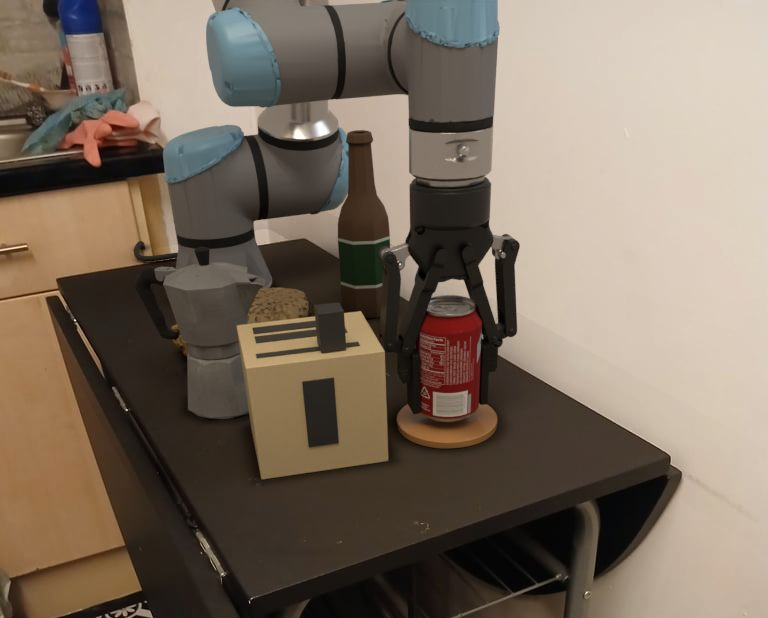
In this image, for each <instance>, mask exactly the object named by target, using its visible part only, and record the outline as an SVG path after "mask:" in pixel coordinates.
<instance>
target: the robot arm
mask: <svg viewBox="0 0 768 618" xmlns="http://www.w3.org/2000/svg"><path fill="white" fill-rule="evenodd" d="M330 1H331V0H211V2H212V5H213V8H214V10H215V12H213V13H211V15H209V17H208V18H207V19H208V20H207V22H206V27H205V42H206V44H205V45H206V54H207V61H208V68H209V71H210V73H211V78H212V79H211V80H212V83H213V84H212V85H213V88H214V89H215V93H216V94H217V96H218V98H219V99H220V101H221V102H222V103H224V104H225V105H227V106H229V107H233V108H237V107H238V108H241V107H244V108H245V107H258V108H262V109H263V108H264V109H263V111H261V113H260V114H259V115H258V117H257V134H249V135H245V133H244V131H243V130H242V128H241V127H240V125H235V124H224V125H219V126H218V125H213V126H208V127H203V128H198V129H194V130H191V131H187V132H184V133H182V134H179V135H177V136H175V137H174V138H172V139H170V140H169V141H168V142H167V143H165V146H164V147H163V151H162V159H163V168H164V181H165V183H166V185H167V190H168V195H169V200H170V208H171V213H172V219H173V226H174V230H175V236H176V242H177V247H178V248H177V252H171V253H164V254H156V255H142V254H141V253H140V250H145V249H146V244H145V242H144V241H142V240H139V241H137V242H136V243H135V246H134V248H133V256H134V257H135V259H136V260H137V261H140V262H160V261H167V260H173V259H176V262H175V263H176V264H175V269H176V270H178V269H181V268H184V267H187V266H190V265H193V264H199V262H198V260H197V257H196V254H195V251H194V250H195V249H196V248H199V247H207V248H210V250H209V263H220V262H226V263H230V264H234V265H238V266H242V267H247V268H248V273H249V274H252V275H256V276H258V278H262V279H263V280H264V282H265V286H264V287H262V288H260V289H266V288H274V283H273V277H272V275H271V272H270V270H269V268H268V266H267V263H266V261H265V259H264V256H263V254H262V252H261V250H260V247H259V245H258V243H257V240H256V234H255V224H254V223H255V222H256V221H263V220H272V219H278V218H279V219H280V218H288V217H294V216H304V215H311V216H312V215H318V214H319V213H322V212H328V211H333V210H335V209H337V208H339V207H340V206H341V205H343V204H344V202H345V200H346V198H347V196H348V144H347V143H346V139H347V133H346V131H345V130H344V129H343V128H342V127H339V125H340V124H339V119H338V118H337V117H336V116H335V114H334V113H333V112H332V111H331V110H330V109H329V100H330V101H332V100H346V99H347V100H348V99H357V98H358V99H360V98H370V97H371V98H372V97H382V96H394V95H405V96H407V98H408V99H407V100H408V101H407V102H408V103H407V104H408V172H409V174H410V175H411V176H412V177H414V178H413V179H412V181H411V182H410V183H409V187H408V188H409V231H408V234H407V236H406V238H405V242H404V243H400V244H398V245H396V246H395V245H394V246H392V247H390V248H388V247H386V246H383V247H381V248H380V249H379V252H378V253H379V258H380V261H381V265H382V268H383V282H382V296H381V311H380V317H379V326H378V327H379V328H378V341H379V343H380V344H381V346H382V348H383V349H384V351H385V352H386V353H395V354H396V362H397V364H396V366H397V367H396V369H397V376H398V378H399V380H400V381H401V383H402V384H403V385H404V384H406V403H407V404H408V405H409V407H410V409H411V411H412V412H413V414H419V413H420V355H419V354H418V352H417V351H416V349H415V343H416V341H417V338H418V335H419V332H420V329H421V326H422V323H423V320H424V317H425V314H426V311H427V308H428V305H429V303H430V300H431V297H433V294H435V292H436V290H437V288H438V285H439V283H445V282H447V281H450V280H456V281H457V280H458V281H463V283H464V285H465V288H466V291H467V294H468V296H469V297H468V298H470V299H472V300H473V302H474V303H475V304H476V309H475V310H476V312H477V313H478V315H479V316H480V318H481V320H482V335H481V336H482V337H481V361H480V387H479V403H480V405H484V404H487V405H488V396H489V377H490V373H493V372H496V370H497V368H498V359H499V358H498V357H499V349H500V347H502V345H503V343H504V339H506V338H514V337H515V336H516V335H517V334H518V318H517V317H518V316H517V315H518V314H517V290H516V268H515V267H516V266H515V265H516V262H517V258H518V255H519V251H520V247H521V245H520V242H519V241H518V240H517V239H516V238H514V237H512V236H511V235H510V234H508V233H503V234H502V235H497V234H493V232H492V230H491V226H490V218H491V200H492V199H491V198H492V182H491V181H490V179H489V178H488V177H487V175H489V174H490V173H491V172H492V166H493V142H494V116H495V104H496V103H495V102H496V101H495V100H496V83H497V65H498V46H499V45H498V44H499V36H500V29H501V28H500V27H501V26H500V23H499V20H498V18H499V17H498V16H499V15H498V14H499V13H498V12H499V11H498V10H499V8H498V7H499V0H381V1H380V2H367V3H364V2H363V3H351V4H349V3H347V4H332V5H331V3H330ZM490 249H491V255H492V256H493V257H494V275H495V276H494V277H495V293H496V310H497V311H496V312H497V323H496V320H495V317H494V313H493V310H492V307H491V304H490V301H489V298H488V294H487V292H486V288H485V285H484V280H483V276H482V273H481V269H480V264H481V263H482V261H483V259H484V258H485V257H486V255H487V253H488V252H489V251H490ZM408 257H411V258H412V260H413V262H415V264H416V265H417V271H416V273H415V276H414V285H413V287H412V291H411V294H410V296H409V300H408V303H407V306H406V308H405V312H404V315H403V318H402V321H401V325H400V327H399V330H398V322H399V321H398V320H399V312H400V311H399V308H400V297H401V285H402V278H401V271H402V270H404V269H405V267H406V260H407V258H408ZM407 404H406V405H407Z"/></svg>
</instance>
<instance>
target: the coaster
mask: <svg viewBox="0 0 768 618" xmlns="http://www.w3.org/2000/svg"><path fill="white" fill-rule="evenodd" d="M396 428H397V431H398V432H399V434H401V435H402V437H404V438H405V439H406V440H408V441H410V442H411V443H414V444H417V445H419V446H423V447H427V448H432V449H445V450H446V449H449V450H450V449H460V448H461V449H463V448H467V447H471V446H475V445H479V444H480V443H483V442H486V441H487V440H488V439H489V438H491V437H492V436H493V435H494V434H495V432H496V430H497V428H498V415H497V412H496V411H495V410H494V409H493V407H491V406H490V405H488V403H487V404H484V405H480V403H479V407H478V410H477V411H476V412H475V413H474V414H473V415H471V416H469V417H467V418H465V419H462V420H460V421H455V422H440V421H435V420H432V419H430V418H428V417H426V416H424V415H422V414H421V413H419V414H413V412H412V411H411V409H410V407H409V405H408V404H406V405H404V406H403V407H402V408H400V410H399V411H398V413H397V414H396Z"/></svg>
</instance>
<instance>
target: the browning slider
mask: <svg viewBox="0 0 768 618" xmlns="http://www.w3.org/2000/svg"><path fill="white" fill-rule="evenodd" d="M313 308H314V316H315V322H316V333H317V343H318V346H319V348H320V350H321V352H322V353H323V352H331V351H339V350H346V335H345V319H344V310H343V306H342V304H341V303H340V302H339V301H338V302H328V303H322V304H321V303H320V304H314V305H313Z"/></svg>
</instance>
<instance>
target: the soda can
mask: <svg viewBox="0 0 768 618" xmlns="http://www.w3.org/2000/svg"><path fill="white" fill-rule="evenodd" d="M475 309H476V304H475V303H474V302H473V300H472V299H470V297H466V296H463V295H456V294H444V295H443V294H442V295H436V296H432V297H431V300H430V303H429V305H428V308H427V311H426V314H425V317H424V320H423V323H422V326H421V329H420V332H419V335H418V338H417V341H416V343H415V346H414V348H415V349H416V351H417V352H418V354H419V355H420V413H421V414H422V415H424V416H426V417H428V418H430V419H432V420H435V421H440V422H455V421H460V420H462V419H465V418H467V417H469V416H471V415H473V414H474V413H475V412H476V411H477V410H478V407H479V387H480V361H481V338H482V336H483V335H482V320H481V318H480V316H479V315H478V313H477V312H476V310H475Z"/></svg>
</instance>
